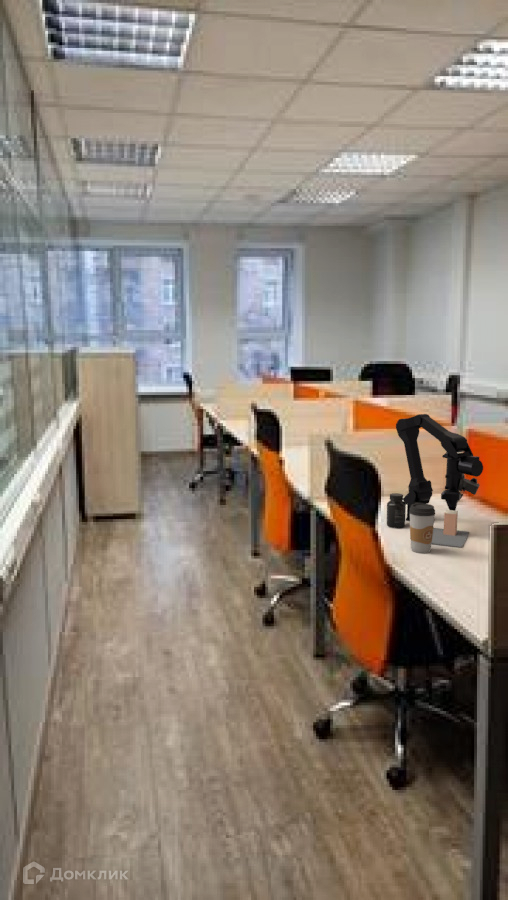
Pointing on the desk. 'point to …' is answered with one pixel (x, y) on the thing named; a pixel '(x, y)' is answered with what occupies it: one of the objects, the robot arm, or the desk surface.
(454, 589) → the desk surface
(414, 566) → the desk surface
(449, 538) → the mat
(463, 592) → the desk surface
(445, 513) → the block
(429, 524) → the coffee cup
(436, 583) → the desk surface
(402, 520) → the supplement bottle
